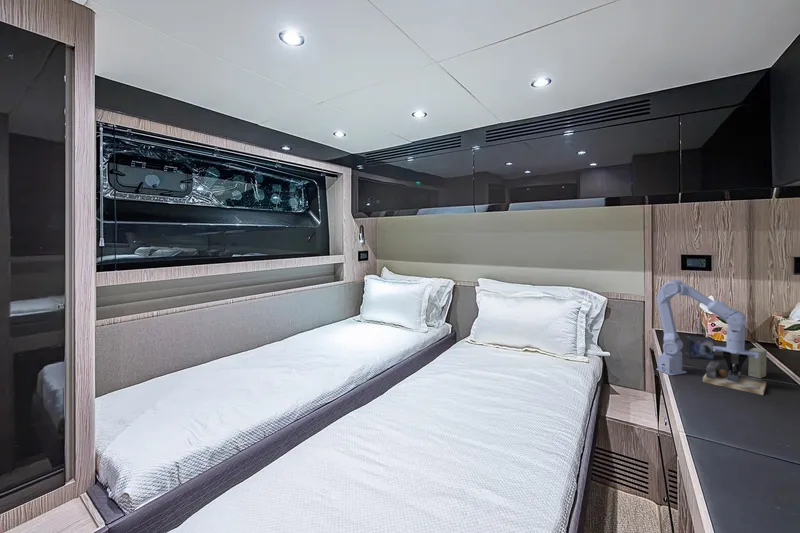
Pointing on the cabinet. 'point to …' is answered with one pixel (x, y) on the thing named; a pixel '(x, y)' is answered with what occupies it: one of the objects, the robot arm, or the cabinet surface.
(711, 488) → the cabinet surface
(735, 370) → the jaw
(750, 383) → the press
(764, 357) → the skincare box
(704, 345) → the small box
